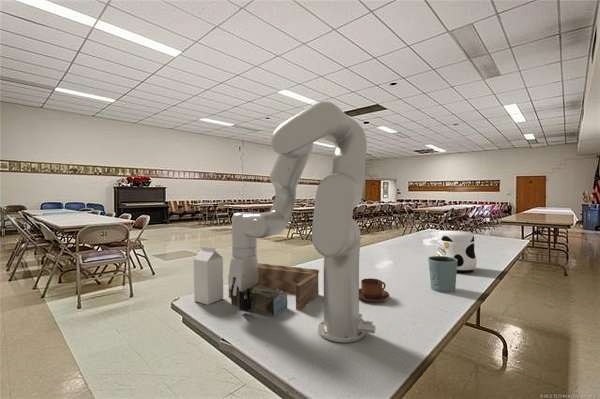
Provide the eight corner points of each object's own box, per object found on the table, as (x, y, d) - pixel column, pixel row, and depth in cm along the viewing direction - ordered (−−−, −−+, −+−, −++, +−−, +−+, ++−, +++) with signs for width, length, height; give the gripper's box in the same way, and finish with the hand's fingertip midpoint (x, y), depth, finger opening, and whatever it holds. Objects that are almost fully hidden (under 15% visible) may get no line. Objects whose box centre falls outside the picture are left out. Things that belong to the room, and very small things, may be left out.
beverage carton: (273, 317, 89) (273, 296, 89) (229, 305, 99) (229, 286, 98) (288, 309, 95) (288, 289, 95) (245, 298, 105) (245, 280, 105)
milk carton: (207, 305, 98) (206, 249, 98) (194, 301, 102) (193, 247, 102) (223, 298, 104) (222, 246, 104) (210, 295, 108) (209, 244, 108)
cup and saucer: (366, 290, 112) (366, 274, 112) (395, 298, 104) (395, 281, 103) (348, 298, 104) (347, 281, 104) (377, 307, 95) (377, 289, 95)
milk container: (428, 267, 145) (428, 231, 145) (452, 263, 152) (452, 229, 152) (460, 276, 129) (460, 236, 129) (484, 271, 137) (485, 233, 136)
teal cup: (460, 289, 112) (460, 258, 112) (453, 296, 105) (453, 263, 105) (433, 283, 119) (433, 254, 119) (424, 289, 112) (424, 258, 111)
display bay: (319, 294, 108) (318, 269, 108) (300, 310, 93) (299, 281, 93) (254, 284, 121) (254, 262, 121) (228, 297, 106) (228, 272, 106)
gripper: (248, 246, 99) (249, 300, 100) (219, 255, 86) (219, 317, 86) (267, 248, 96) (267, 303, 96) (239, 257, 83) (240, 321, 83)
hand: (245, 309), depth 91 cm, fingers closed
